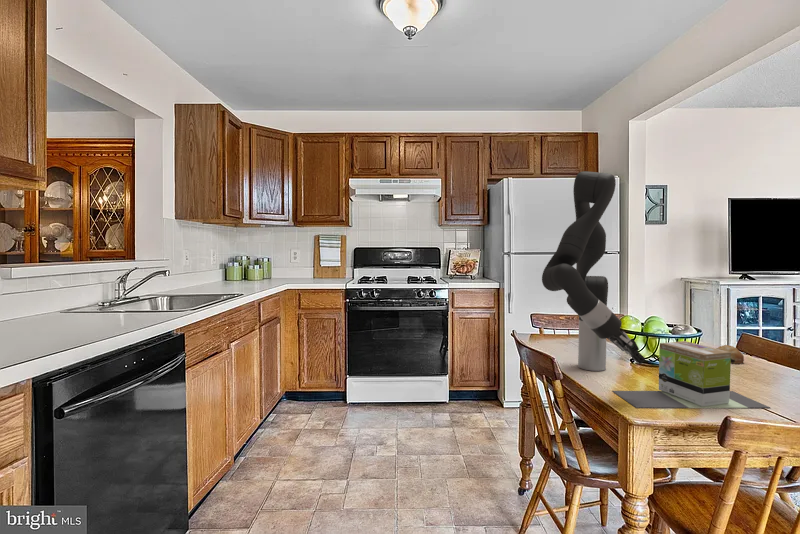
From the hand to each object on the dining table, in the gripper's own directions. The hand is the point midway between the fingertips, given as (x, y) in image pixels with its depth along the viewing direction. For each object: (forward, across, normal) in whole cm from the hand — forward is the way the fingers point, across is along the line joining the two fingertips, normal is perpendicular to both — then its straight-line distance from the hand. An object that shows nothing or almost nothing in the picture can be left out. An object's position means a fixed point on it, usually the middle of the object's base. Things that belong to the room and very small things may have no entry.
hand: (641, 361), depth 128 cm
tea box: (+19, +1, -3) cm, 19 cm away
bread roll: (+48, +44, -32) cm, 73 cm away
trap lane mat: (+17, 0, -2) cm, 17 cm away
